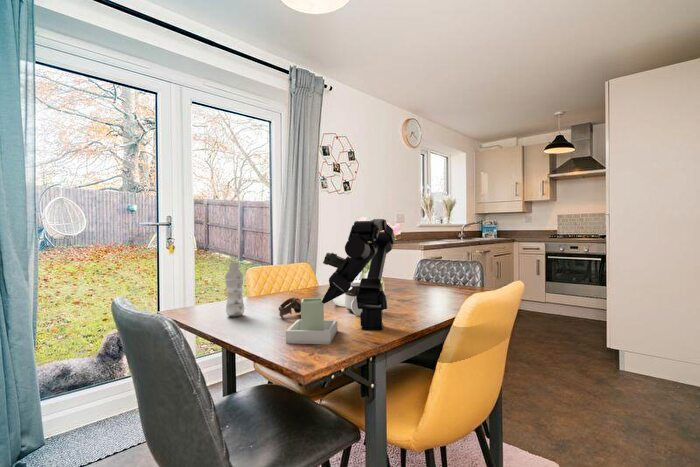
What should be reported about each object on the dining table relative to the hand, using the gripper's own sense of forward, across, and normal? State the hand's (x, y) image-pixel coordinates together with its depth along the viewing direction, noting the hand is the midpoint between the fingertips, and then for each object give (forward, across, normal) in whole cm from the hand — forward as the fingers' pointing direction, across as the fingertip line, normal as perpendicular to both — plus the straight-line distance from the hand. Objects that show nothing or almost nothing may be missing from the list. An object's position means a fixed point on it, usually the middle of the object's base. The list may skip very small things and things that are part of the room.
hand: (325, 299), depth 107 cm
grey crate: (+10, +2, +4) cm, 11 cm away
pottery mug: (+18, -22, -4) cm, 28 cm away
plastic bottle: (+33, -23, -21) cm, 45 cm away
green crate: (+10, +2, +4) cm, 11 cm away
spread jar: (+2, -28, +14) cm, 32 cm away
